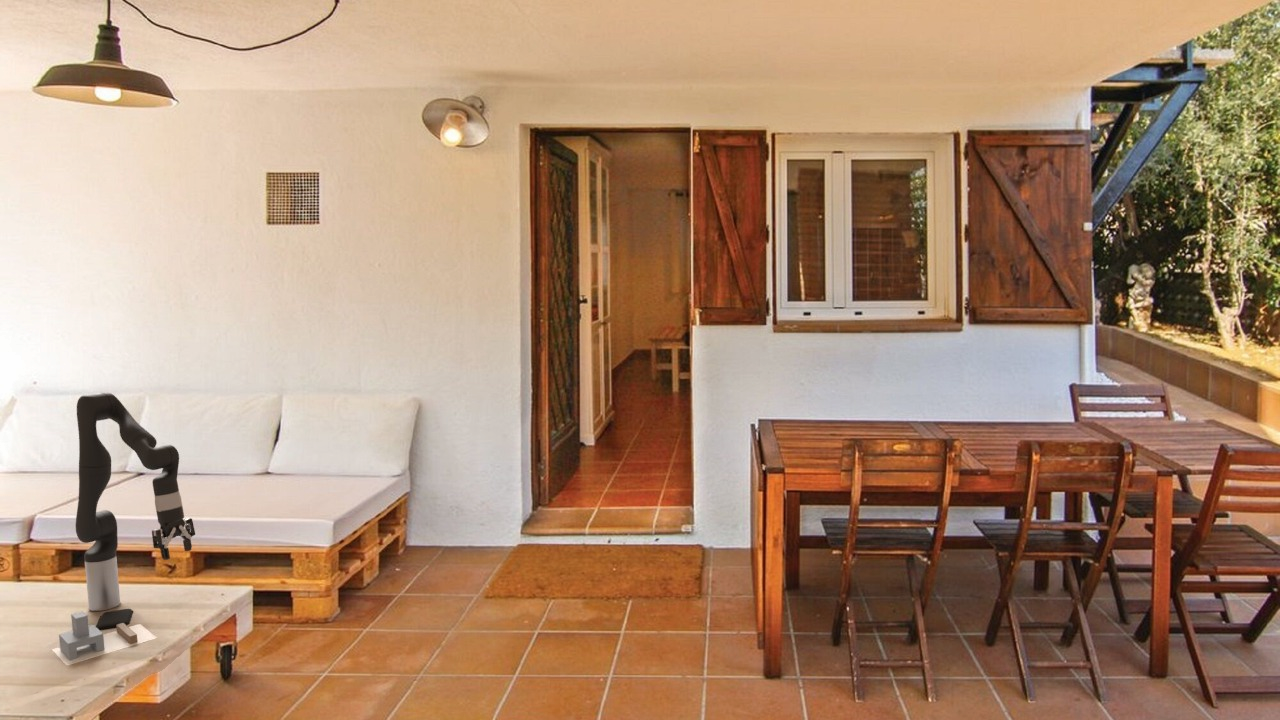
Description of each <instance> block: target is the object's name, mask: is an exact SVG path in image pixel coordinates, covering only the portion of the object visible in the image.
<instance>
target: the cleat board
mask: <svg viewBox="0 0 1280 720" xmlns="http://www.w3.org/2000/svg"><path fill="white" fill-rule="evenodd" d="M115 629H116V630H114V631H111V632H107V633H103V637H104V649H105V650H103V651H100V652H96V651H95V650H94V649H93V648H92V647H91V646H90V645H89V644H88V645H85V646H82V647H78V648H77V657H78V658H77V659H73V660H69V659H68V658H67V657H66V656H65V655H64V654H63V653H62V652H61V651H60V646H59V647H55V648H52V649H51V650H52V651H53V652H54V653H55V655H56V656H57V657H58V658H59V659H60V660H61V662H63V664H65V666H71V665H73V664H77V663H81V662H83V661H87V660H90V659H92V658H96V657H99V656H104V655H106V654H110V653H113V652H116V651H120V650H123V649H126V648H129V647H133V646H136V645H140V644H143V643H146V642H150V641H153V640H156V639H157V636H155V635H154V634H153V633H152V632H150V631H149V630H148V629H147V628H146V627H144V626H143V625H142V624H141V623H138V624H134V625H131V626H129V625H125V624H124V623H121V624H117V625H116V628H115Z"/></svg>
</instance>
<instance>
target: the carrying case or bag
mask: <svg viewBox="0 0 1280 720" xmlns="http://www.w3.org/2000/svg"><path fill="white" fill-rule="evenodd" d="M133 614H134V610H133V609H131V608H125V609H124V608H123V609H118V610H110V611H106V612H103V614H102V615H100V616H99V619H98V621H97V623H96V625H95V627H97V628H98V629H99V630H100V631H105V630H111V629H117V628H116V625H117V624H121V623H124V624H125V625H127V626H129V625H130V624H131V621H132V618H133Z"/></svg>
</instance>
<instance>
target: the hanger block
mask: <svg viewBox="0 0 1280 720" xmlns="http://www.w3.org/2000/svg"><path fill="white" fill-rule="evenodd" d="M70 616H71V617H70V618H71V627H72V630H69V631H66V632H61V633H59V634H58V637H59V638H58V640H59V647H60V651H61V652H62V653H63V654H64V655H65V656H66V657H67V658H68V659H69V660H73V659H77V658H78V657H77V648H78V647H82V646H85V645H88V644H89V645H90V646H91V647H92V648H93V649H94V650H95V651H96V652H100V651H103V650H105V649H104V637H103V634H104V633H103V632H102V630H99V629H98V628H97V627H96V625H94V624H90V625H89V618H88V615H87V613H86V612H84V611H83V610H81V611H79V612H78V611H77V612H73V613H71V614H70Z"/></svg>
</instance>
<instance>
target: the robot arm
mask: <svg viewBox="0 0 1280 720" xmlns="http://www.w3.org/2000/svg"><path fill="white" fill-rule="evenodd" d="M108 419H110V420H112V421H113V422H115V423H117V424H118V427H119V435H120V439H121V440H122V442H123V443H124V444H125V445H127V446H128V447H129V448H130V449H131V450H132V451H134V452H135V453H136V454H135V455H136V456H137V457H138V458H139V460H140V462H141V464H142V466H143V467H144V468H146V469H147V470H149V471H150V470H151V471H156V470H161V469H162V471H161V473H160V474H159V475H158V476H155V477H154V478H153V479H152V487H153V488H152V489H153V494H154V507H155V510H156V518H157V522H158V524H159V525H160V528H158V529H152V530H151V535H152V536H151V537H152V544H153V545H152V547H153V549H159V550H160V554H161V559H162V560H163V561H165V560H166V561H167V560H170V558H171V556H170V550H169V547H168V546H169V544H170V542H171V541H172V539H174V538H176V537H180V538H181V539H183V540H182V544H183V549H184V551H185V552H190V551H191V550H192V547H193V546H192V540H191V539H192V537H193V536H196V530H195V526H194V521H193V519H192V518H185V514H184V508H183V502H182V496H181V494H180V489H179V485H178V484H179V483H178V473H179V463H180V454H179V452H178V450H177V448H176V447H175V446H174V445H172V444H165V445H162V446H157V438H156V437H154V435H153V434H151V433H150V432H149V431H148V430H146V429H145V428H144V427H143V426H141V425H140V423H138V422H137V420H136V419H135V418H134V417H133V416H132V415H131V412H129V410H128V409H127V408H126V407H125V406H124V404H123V403H122V402H121V400H120V399H119V398H117V396H115V394H113V393H111V392H109V391H108V392H105V391H104V392H103V391H102V392H98V393H97V392H96V393H90V394H89V393H88V394H84V395H81V396H80V397H79V398H78V399H77V402H76V420H77V430H78V443H79V444H78V445H79V447H78V448H79V449H78V451H79V457H78V500H77V509H76V516H75V532H76V534H75V535H76V536H77V539H79V541H81V543H84V544H88V543H92V542H94V544H93V545H92V546H90V547H89V548H88V549H87V550H86V551H85V552H84V554H83V559H84V569H85V570H84V571H85V578H86V579H85V580H86V591H87V601H88V610H89V611H92V612H99V611H101V612H102V611H105V610H106V611H107V610H110V609H114V608H116V607H118V606H119V605H120V604H121V595H120V594H121V593H120V582H119V574H118V573H119V572H118V560H117V551H118V545H119V544H118V521H117V518H116V516H115V514H114V513H113V512H111V511H110V510H107V509H106V510H105V509H103V510H100V511H97V507H98V503H99V501H100V499H101V496H102V494H103V493H104V491H105V489H106V488H107V486H108V484H109V482H110V479H111V477H112V457H111V454H110V452H109V451H108V449H107V448H106V446H105V445H104V444H103V443H102V441H101V440H100V438H99V436H98V432H97V431H98V430H97V422H98V421H104V420H105V421H106V420H108ZM156 446H157V447H156Z"/></svg>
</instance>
